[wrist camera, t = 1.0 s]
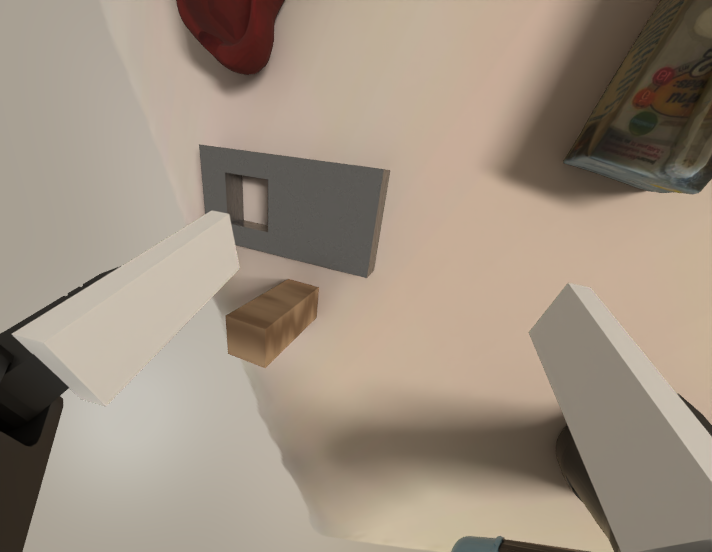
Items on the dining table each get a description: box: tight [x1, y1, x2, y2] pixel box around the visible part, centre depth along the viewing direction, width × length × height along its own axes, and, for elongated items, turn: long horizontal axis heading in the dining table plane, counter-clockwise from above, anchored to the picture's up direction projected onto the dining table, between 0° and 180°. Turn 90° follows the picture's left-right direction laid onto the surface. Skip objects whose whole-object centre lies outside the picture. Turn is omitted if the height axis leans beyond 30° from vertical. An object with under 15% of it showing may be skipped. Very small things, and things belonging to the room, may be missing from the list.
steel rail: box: [199, 145, 390, 278], centre depth 33 cm, size 12×24×3 cm, turn 83°
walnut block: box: [226, 279, 319, 368], centre depth 34 cm, size 5×5×12 cm
